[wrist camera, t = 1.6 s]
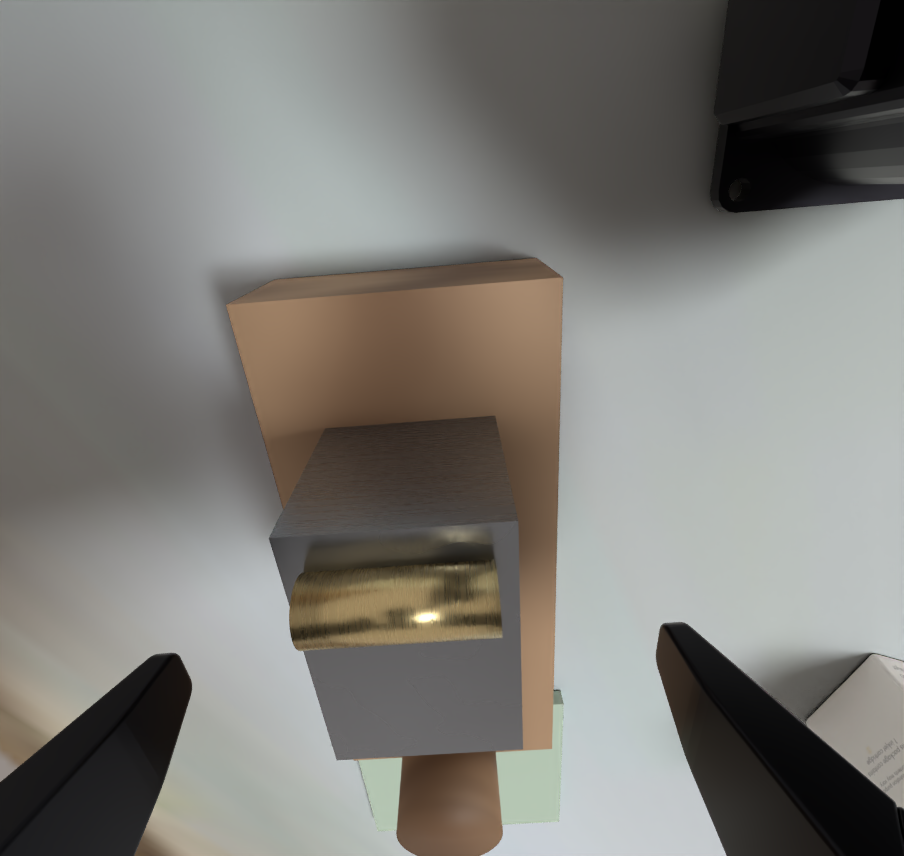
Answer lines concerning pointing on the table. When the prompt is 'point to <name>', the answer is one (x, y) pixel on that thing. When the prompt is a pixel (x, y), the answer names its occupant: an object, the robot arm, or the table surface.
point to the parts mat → (519, 777)
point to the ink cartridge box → (868, 723)
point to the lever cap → (407, 587)
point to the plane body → (424, 399)
